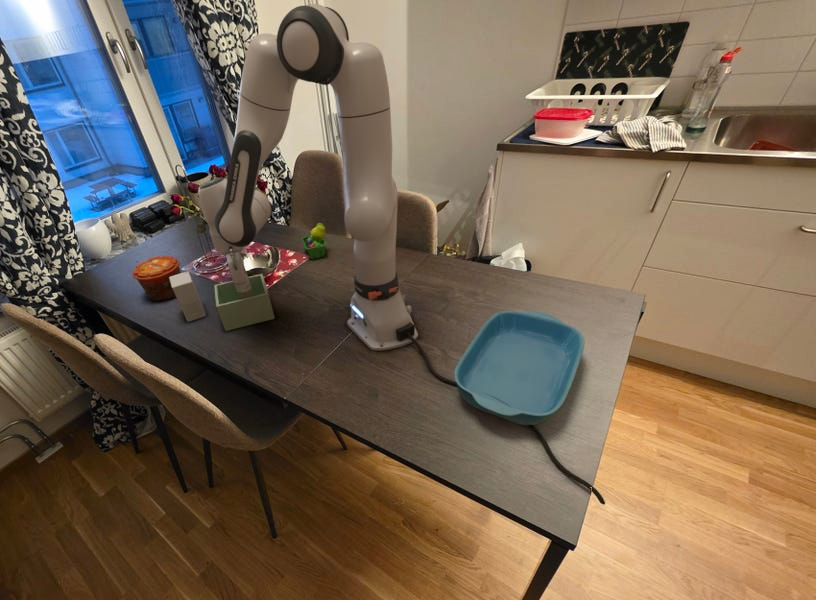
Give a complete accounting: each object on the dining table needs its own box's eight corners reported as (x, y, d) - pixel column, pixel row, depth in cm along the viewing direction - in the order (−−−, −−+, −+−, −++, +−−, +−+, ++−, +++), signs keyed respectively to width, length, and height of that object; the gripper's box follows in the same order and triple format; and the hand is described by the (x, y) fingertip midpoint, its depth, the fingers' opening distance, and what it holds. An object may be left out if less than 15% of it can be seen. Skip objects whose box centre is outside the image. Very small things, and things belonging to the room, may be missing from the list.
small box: (183, 310, 131) (168, 276, 122) (202, 304, 132) (188, 270, 124) (187, 322, 125) (171, 287, 116) (206, 316, 126) (192, 281, 118)
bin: (274, 318, 121) (268, 293, 115) (225, 331, 119) (216, 306, 113) (268, 297, 131) (262, 273, 125) (222, 308, 129) (214, 285, 123)
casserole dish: (545, 454, 75) (554, 431, 71) (437, 410, 86) (439, 388, 82) (584, 347, 96) (594, 323, 92) (494, 323, 107) (498, 301, 103)
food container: (135, 303, 138) (121, 276, 131) (160, 280, 150) (148, 254, 142) (174, 304, 134) (161, 277, 127) (196, 281, 146) (186, 254, 139)
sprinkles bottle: (249, 292, 124) (237, 253, 115) (256, 297, 121) (245, 258, 112) (236, 298, 122) (223, 259, 113) (243, 303, 119) (231, 264, 110)
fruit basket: (303, 249, 156) (298, 222, 149) (324, 245, 157) (321, 217, 150) (308, 261, 148) (303, 233, 140) (331, 256, 149) (327, 228, 141)
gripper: (243, 253, 102) (256, 297, 111) (236, 225, 117) (248, 267, 126) (219, 258, 101) (234, 303, 110) (216, 230, 116) (229, 271, 125)
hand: (242, 283), depth 118 cm, fingers closed on sprinkles bottle, 4 cm apart
